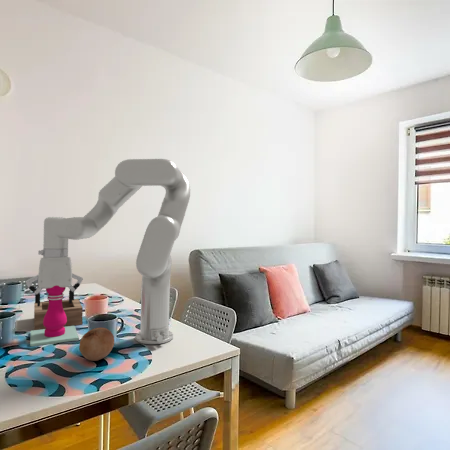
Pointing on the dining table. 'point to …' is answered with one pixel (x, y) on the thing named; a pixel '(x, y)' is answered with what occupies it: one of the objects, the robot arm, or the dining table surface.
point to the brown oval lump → (96, 344)
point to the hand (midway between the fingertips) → (54, 303)
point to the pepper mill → (55, 313)
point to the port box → (70, 309)
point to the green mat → (41, 339)
